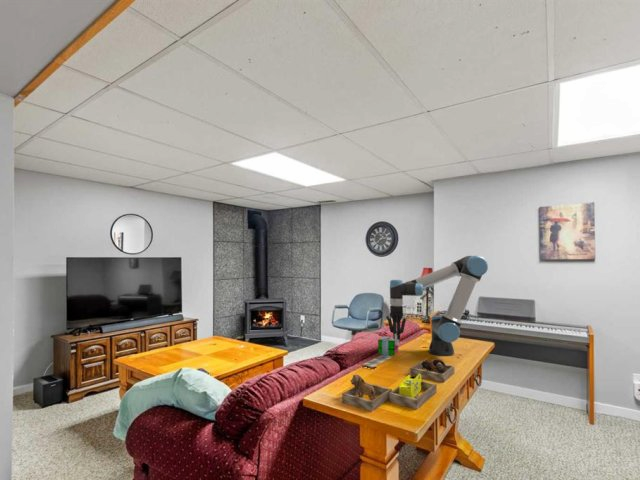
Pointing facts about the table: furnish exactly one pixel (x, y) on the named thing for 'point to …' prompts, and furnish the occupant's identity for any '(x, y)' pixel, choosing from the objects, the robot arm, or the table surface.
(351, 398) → the figurine organizer frame
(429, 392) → the camera organizer frame
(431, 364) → the pottery mug
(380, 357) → the track
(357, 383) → the lion figurine
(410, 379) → the yellow toy chassis
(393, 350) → the puzzle cube
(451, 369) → the frame
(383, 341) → the blue-grey rounded peg
